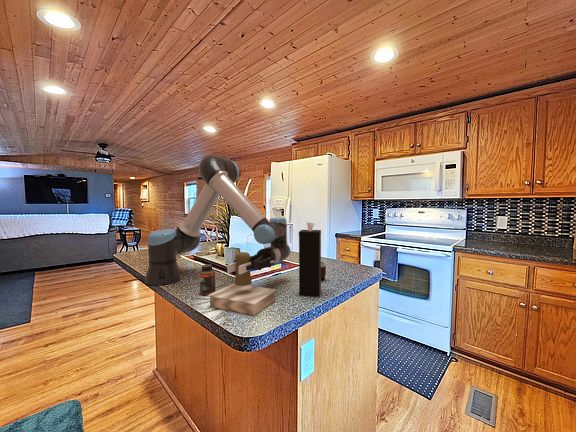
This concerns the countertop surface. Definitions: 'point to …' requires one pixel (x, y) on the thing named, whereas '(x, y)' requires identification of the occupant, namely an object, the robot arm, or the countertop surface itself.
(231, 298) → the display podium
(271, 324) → the countertop surface
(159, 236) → the robot arm
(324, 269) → the mate gourd
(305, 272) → the tissue box
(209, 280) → the supplement bottle
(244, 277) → the cork
